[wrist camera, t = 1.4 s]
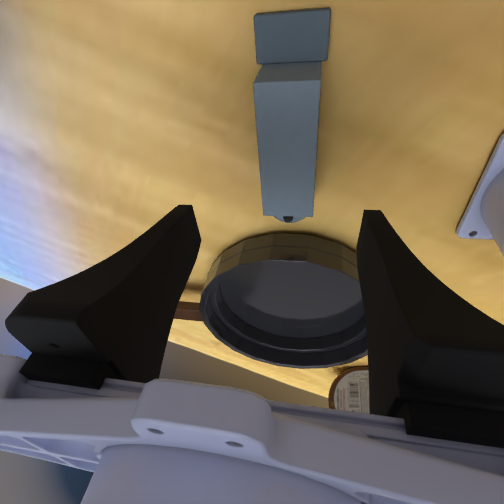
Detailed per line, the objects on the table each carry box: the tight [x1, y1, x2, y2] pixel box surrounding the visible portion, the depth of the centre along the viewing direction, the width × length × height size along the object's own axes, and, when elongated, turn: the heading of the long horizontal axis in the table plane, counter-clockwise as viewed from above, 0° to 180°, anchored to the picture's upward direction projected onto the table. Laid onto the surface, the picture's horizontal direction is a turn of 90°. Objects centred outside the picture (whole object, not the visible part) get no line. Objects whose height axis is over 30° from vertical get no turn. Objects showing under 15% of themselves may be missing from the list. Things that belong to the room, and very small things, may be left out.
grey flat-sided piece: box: [253, 7, 331, 223], centre depth 19 cm, size 12×4×4 cm, turn 5°
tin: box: [328, 367, 369, 414], centre depth 36 cm, size 15×3×8 cm, turn 114°
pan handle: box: [173, 301, 204, 321], centre depth 32 cm, size 8×2×1 cm, turn 95°
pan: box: [199, 233, 368, 369], centre depth 31 cm, size 17×17×4 cm
